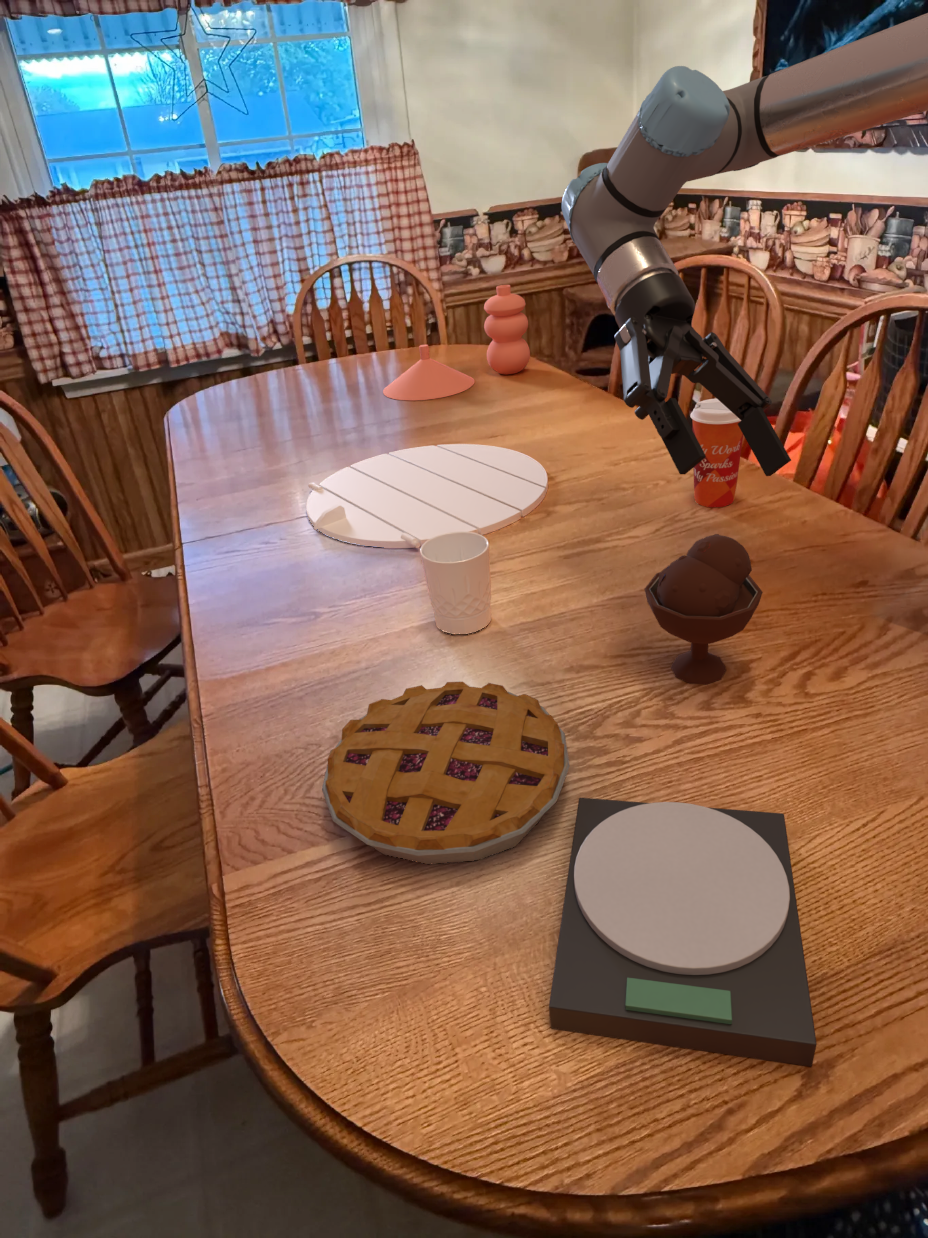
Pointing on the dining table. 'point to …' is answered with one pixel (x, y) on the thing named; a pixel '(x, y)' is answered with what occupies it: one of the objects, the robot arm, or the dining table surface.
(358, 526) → the lazy susan
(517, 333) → the ceramic vessels
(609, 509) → the dining table surface
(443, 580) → the white cup
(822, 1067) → the dining table surface
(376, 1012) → the dining table surface
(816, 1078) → the dining table surface
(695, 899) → the scale
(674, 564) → the ice cream bowl
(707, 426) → the paper cup
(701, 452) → the robot arm
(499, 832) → the pie
